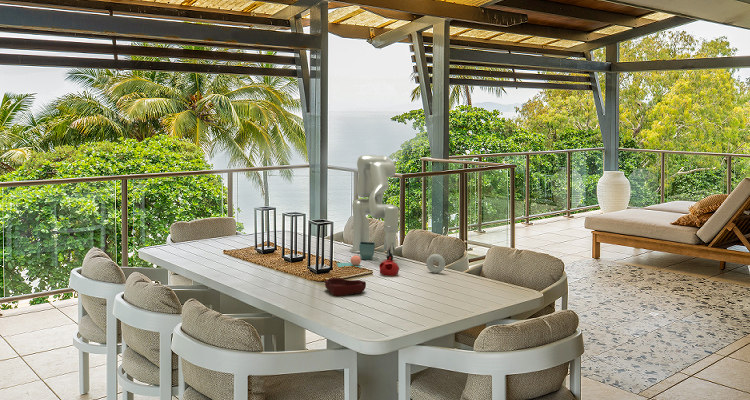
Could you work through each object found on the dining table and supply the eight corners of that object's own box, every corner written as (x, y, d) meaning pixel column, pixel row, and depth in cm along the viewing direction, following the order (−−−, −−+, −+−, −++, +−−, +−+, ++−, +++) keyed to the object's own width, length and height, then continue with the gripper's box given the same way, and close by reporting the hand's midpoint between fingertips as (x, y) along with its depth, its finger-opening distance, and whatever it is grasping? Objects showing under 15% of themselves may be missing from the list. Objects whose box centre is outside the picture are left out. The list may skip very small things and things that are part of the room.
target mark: (336, 263, 358) (336, 262, 358) (358, 263, 360) (358, 262, 360) (338, 267, 346) (338, 267, 346) (361, 267, 348) (361, 267, 348)
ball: (357, 265, 357) (348, 261, 355) (361, 256, 356) (352, 252, 355) (358, 268, 351) (349, 264, 350) (363, 259, 351) (354, 255, 349)
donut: (445, 273, 341) (446, 254, 340) (443, 274, 338) (444, 255, 337) (426, 271, 345) (427, 252, 344) (425, 272, 342) (425, 253, 341)
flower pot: (374, 260, 369) (375, 244, 368) (358, 260, 369) (359, 244, 368) (374, 257, 378) (375, 242, 377) (359, 257, 378) (359, 241, 377)
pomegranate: (388, 272, 340) (389, 254, 339) (402, 275, 333) (403, 257, 332) (374, 274, 333) (375, 256, 332) (388, 277, 326) (389, 258, 325)
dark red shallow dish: (316, 294, 288) (316, 283, 287) (331, 287, 303) (332, 276, 302) (353, 299, 281) (354, 288, 281) (368, 291, 296) (368, 280, 296)
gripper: (381, 227, 361) (380, 260, 363) (386, 231, 346) (384, 265, 348) (395, 227, 362) (394, 260, 364) (400, 231, 347) (398, 265, 349)
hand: (389, 263), depth 356 cm, fingers closed
